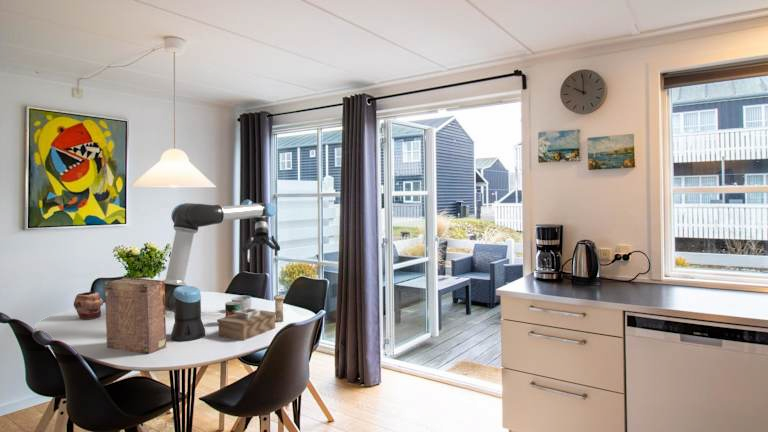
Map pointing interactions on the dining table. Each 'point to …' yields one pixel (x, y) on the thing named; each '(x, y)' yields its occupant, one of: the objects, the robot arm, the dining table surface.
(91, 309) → the decorative planter
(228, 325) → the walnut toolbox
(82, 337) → the dining table surface
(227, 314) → the canned tomato
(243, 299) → the teacup
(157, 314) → the brown upright block
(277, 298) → the beech peg
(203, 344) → the dining table surface
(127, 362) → the dining table surface
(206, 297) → the dining table surface
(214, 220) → the robot arm
